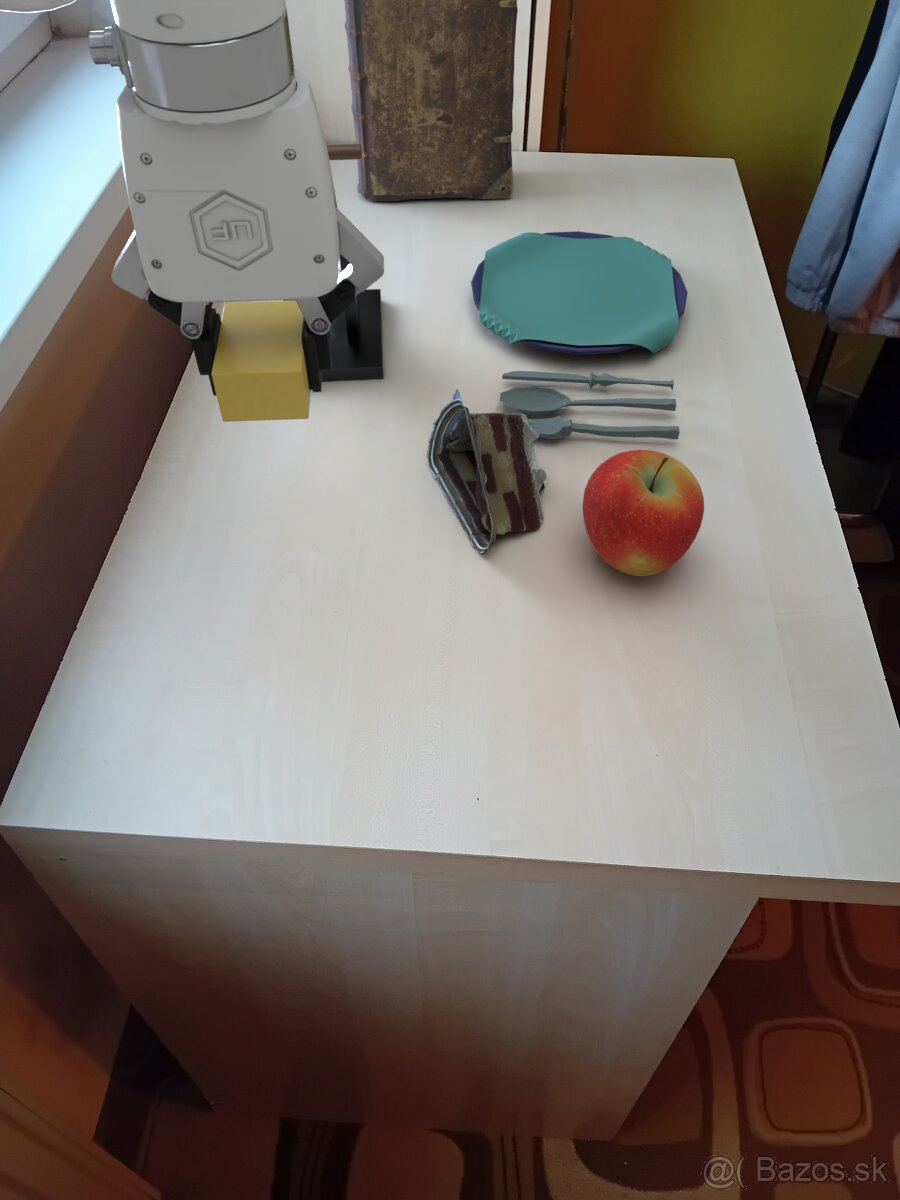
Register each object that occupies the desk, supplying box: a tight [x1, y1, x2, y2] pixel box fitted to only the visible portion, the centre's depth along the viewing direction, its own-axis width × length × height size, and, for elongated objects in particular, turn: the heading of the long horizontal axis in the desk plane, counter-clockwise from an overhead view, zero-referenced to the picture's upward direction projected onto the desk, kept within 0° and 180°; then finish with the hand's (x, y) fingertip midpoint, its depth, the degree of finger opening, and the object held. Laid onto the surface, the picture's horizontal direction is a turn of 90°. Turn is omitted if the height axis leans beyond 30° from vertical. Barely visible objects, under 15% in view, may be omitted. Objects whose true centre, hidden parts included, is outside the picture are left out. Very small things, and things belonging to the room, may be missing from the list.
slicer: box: [282, 254, 385, 382], centre depth 83 cm, size 12×9×10 cm
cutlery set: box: [470, 230, 688, 440], centre depth 86 cm, size 20×30×2 cm, turn 175°
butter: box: [212, 300, 312, 423], centre depth 57 cm, size 5×7×3 cm
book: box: [344, 0, 519, 202], centre depth 95 cm, size 17×7×25 cm, turn 90°
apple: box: [582, 449, 705, 577], centre depth 66 cm, size 8×8×10 cm
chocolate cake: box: [426, 388, 547, 554], centre depth 73 cm, size 10×7×12 cm
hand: (269, 377), depth 58 cm, fingers closed on butter, 5 cm apart
